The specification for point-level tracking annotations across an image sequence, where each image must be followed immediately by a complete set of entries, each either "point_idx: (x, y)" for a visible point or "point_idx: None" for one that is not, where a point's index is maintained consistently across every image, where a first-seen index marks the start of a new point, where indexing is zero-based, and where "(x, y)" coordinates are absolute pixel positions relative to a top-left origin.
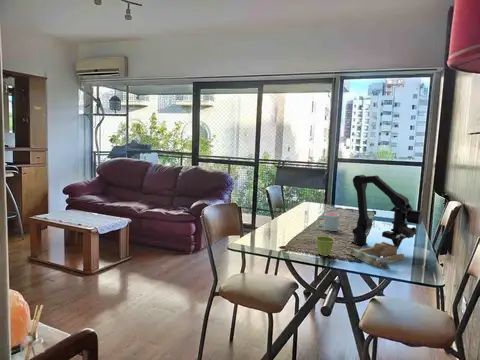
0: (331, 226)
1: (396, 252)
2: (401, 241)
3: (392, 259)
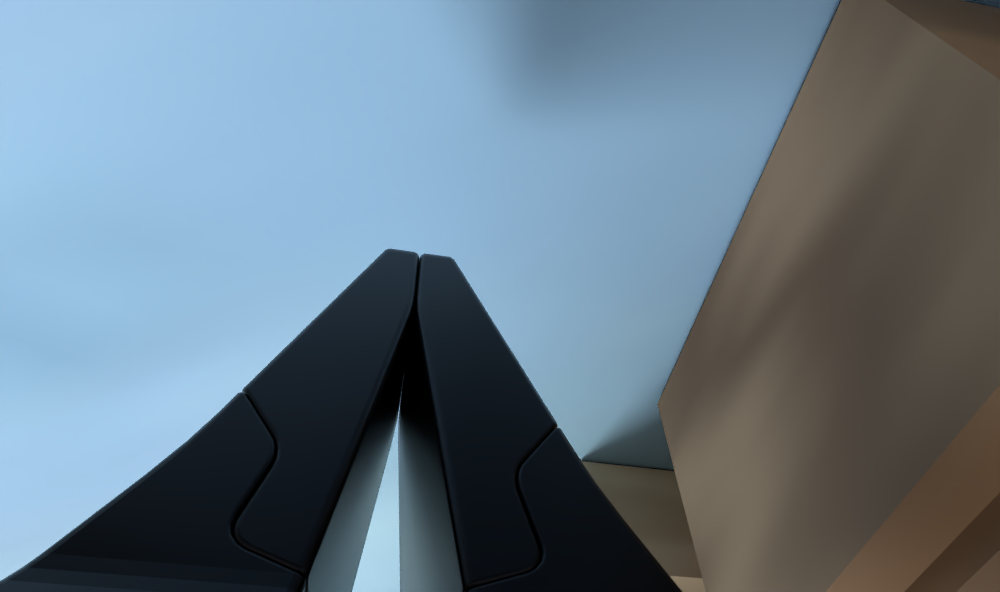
0: None
1: (971, 51)
2: (167, 480)
3: None
